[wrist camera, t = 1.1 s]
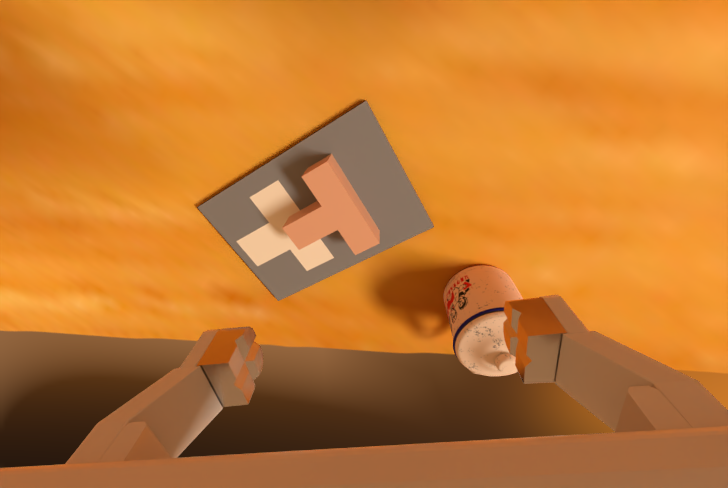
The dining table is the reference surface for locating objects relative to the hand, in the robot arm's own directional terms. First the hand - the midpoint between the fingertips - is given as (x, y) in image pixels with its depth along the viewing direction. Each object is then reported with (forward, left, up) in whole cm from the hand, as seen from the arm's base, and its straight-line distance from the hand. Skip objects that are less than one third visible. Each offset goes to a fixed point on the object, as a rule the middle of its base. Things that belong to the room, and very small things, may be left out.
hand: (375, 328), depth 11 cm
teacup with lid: (-1, +23, -27) cm, 35 cm away
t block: (+9, +3, -26) cm, 27 cm away
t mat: (+10, +3, -26) cm, 28 cm away
